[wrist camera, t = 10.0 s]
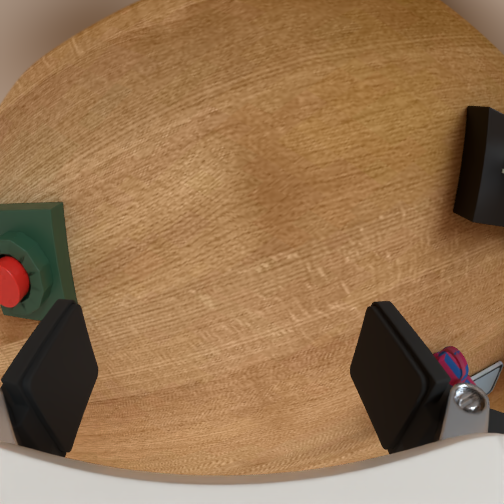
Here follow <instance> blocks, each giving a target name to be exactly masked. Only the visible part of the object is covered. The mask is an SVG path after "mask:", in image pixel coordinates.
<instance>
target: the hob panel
mask: <svg viewBox="0 0 504 504" xmlns="http://www.w3.org/2000/svg"><path fill="white" fill-rule="evenodd" d="M453 212H454V213H456V214H458V215H460V216H462V217H464V218H466V219H468V220H470V221H471V222H475V223H482V224H489V225H495V226H502V227H504V114H502V113H500V112H498V111H496V110H494V109H492V108H490V107H480V106H468V108H467V121H466V132H465V141H464V150H463V157H462V164H461V171H460V177H459V183H458V188H457V194H456V199H455V204H454V209H453Z"/></svg>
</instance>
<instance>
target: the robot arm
mask: <svg viewBox="0 0 504 504" xmlns="http://www.w3.org/2000/svg"><path fill="white" fill-rule="evenodd" d="M350 375H351V378H352V380H353V382H354V384H355V386H356V389H357V391H358V393H359V395H360V397H361V400H362V402H363V404H364V406H365V408H366V411H367V413H368V415H369V417H370V420H371V422H372V424H373V426H374V429H375V431H376V433H377V436H378V438H379V440H380V442H381V445H382V447H383V448H384V449H385V450H387V449H388V452H389V455H385V456H380V457H376V458H372V459H367V460H363V461H358V462H353V463H348V464H343V465H337V466H331V467H325V468H318V469H311V470H303V471H294V472H284V473H273V474H258V475H227V476H212V475H183V474H168V473H156V472H146V471H137V470H130V469H123V468H116V467H110V466H104V465H99V464H93V463H88V462H84V461H79V460H74V459H70V458H65V455H66V452H70V451H71V449H72V446H73V443H74V440H75V437H76V434H77V431H78V428H79V425H80V422H81V420H82V417H83V414H84V411H85V408H86V406H87V403H88V400H89V397H90V395H91V392H92V390H93V387H94V384H95V382H96V379H97V376H98V366H97V362H96V359H95V356H94V353H93V349H92V346H91V342H90V339H89V335H88V332H87V328H86V324H85V320H84V316H83V312H82V308H81V306H80V305H78V304H77V303H76V301H75V300H70V299H58V300H57V301H56V302H55V303H54V305H53V306H52V307H51V309H50V310H49V311H48V313H47V314H46V315H45V317H44V318H43V319H42V321H41V322H40V323H39V325H38V326H37V327H36V329H35V330H34V332H33V333H32V334H31V336H30V337H29V339H28V340H27V341H26V343H25V344H24V346H23V347H22V349H21V350H20V351H19V353H18V354H17V356H16V357H15V359H14V360H13V362H12V363H11V365H10V366H9V368H8V370H7V371H6V373H5V374H4V376H3V377H2V379H1V381H2V383H3V385H2V386H1V388H0V504H504V413H502V412H499V411H496V410H493V409H490V408H489V406H490V404H489V399H488V397H487V394H486V393H485V392H484V391H483V390H482V389H481V388H479V387H478V386H476V385H474V384H472V383H466V382H463V383H458V384H455V385H454V386H453V387H451V385H450V384H449V382H450V380H451V378H450V376H449V375H448V374H447V372H446V371H445V370H444V368H443V367H442V366H441V364H440V363H439V362H438V360H437V359H436V358H435V357H434V355H433V354H432V353H431V351H430V350H429V349H428V347H427V346H426V345H425V344H424V342H423V341H422V340H421V339H420V337H419V336H418V335H417V333H416V332H415V331H414V330H413V328H412V327H411V326H410V325H409V323H408V322H407V321H406V320H405V319H404V317H403V316H402V315H401V314H400V312H399V311H398V310H397V309H396V308H395V306H394V305H393V304H392V303H391V302H390V301H381V302H373V303H372V305H371V306H369V307H368V308H367V310H366V313H365V317H364V321H363V325H362V328H361V332H360V336H359V339H358V343H357V346H356V350H355V353H354V356H353V360H352V363H351V366H350Z"/></svg>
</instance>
